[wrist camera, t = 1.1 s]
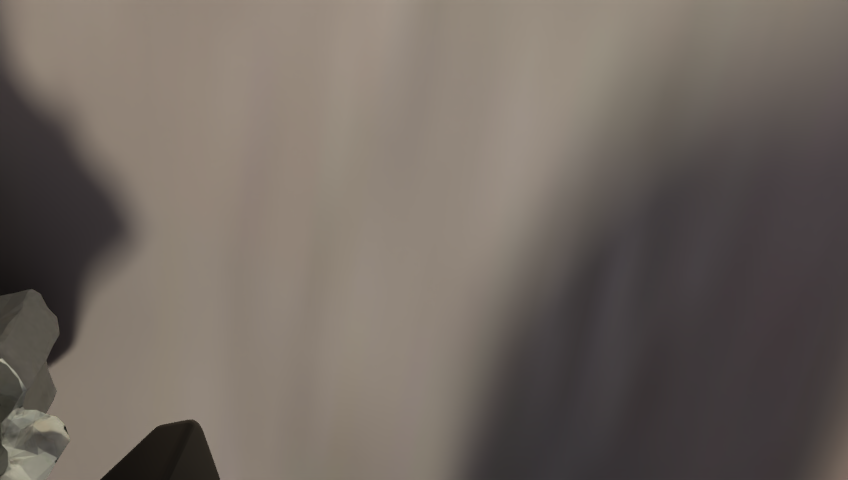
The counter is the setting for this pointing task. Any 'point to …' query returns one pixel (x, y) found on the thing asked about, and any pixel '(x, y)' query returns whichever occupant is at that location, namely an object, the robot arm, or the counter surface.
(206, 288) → the counter surface
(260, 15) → the counter surface
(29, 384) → the egg carton
